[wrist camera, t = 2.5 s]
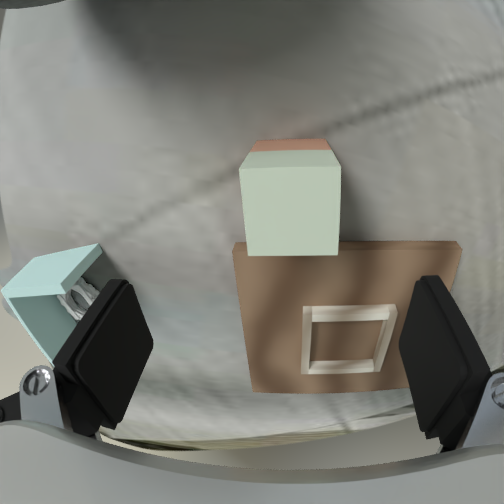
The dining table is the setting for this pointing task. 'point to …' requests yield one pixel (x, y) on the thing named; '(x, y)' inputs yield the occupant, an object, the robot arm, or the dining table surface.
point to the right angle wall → (52, 295)
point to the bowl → (25, 3)
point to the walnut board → (333, 313)
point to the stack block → (291, 198)
